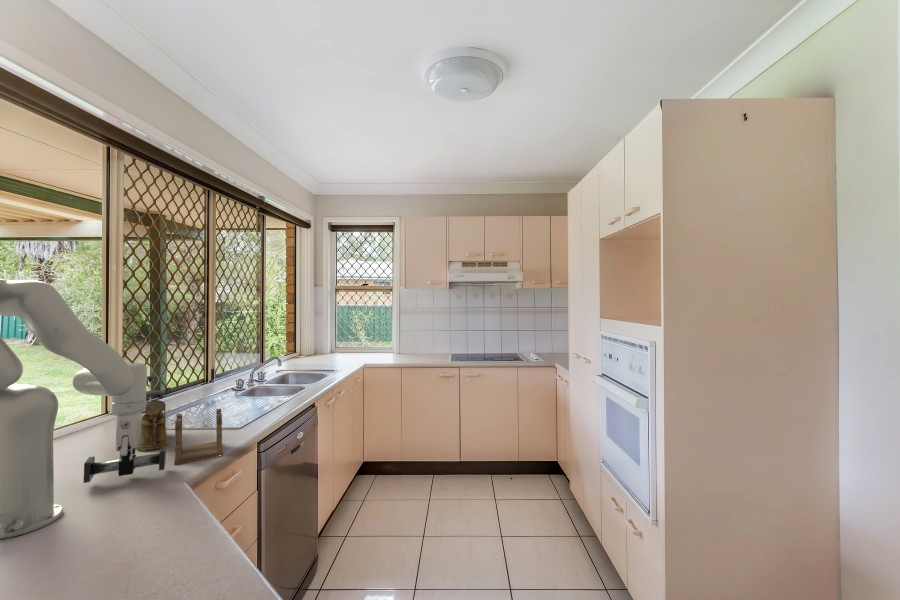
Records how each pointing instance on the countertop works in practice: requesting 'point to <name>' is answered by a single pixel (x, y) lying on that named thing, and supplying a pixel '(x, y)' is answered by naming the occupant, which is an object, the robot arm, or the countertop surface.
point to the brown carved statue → (153, 427)
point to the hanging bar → (113, 465)
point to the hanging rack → (197, 450)
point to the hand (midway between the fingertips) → (127, 471)
